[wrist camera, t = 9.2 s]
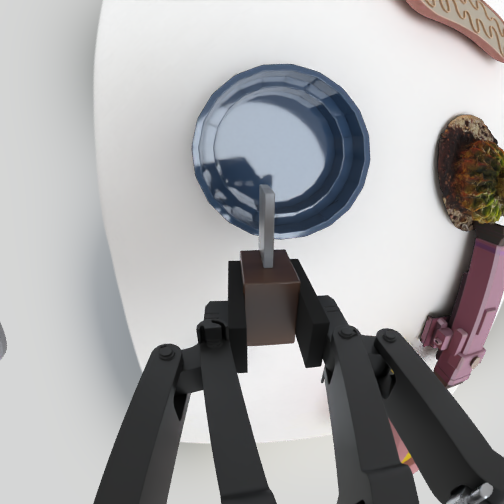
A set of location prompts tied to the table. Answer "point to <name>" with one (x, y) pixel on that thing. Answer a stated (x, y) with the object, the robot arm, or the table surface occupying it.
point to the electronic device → (469, 310)
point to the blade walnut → (269, 283)
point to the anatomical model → (467, 21)
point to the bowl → (281, 149)
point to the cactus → (471, 173)
